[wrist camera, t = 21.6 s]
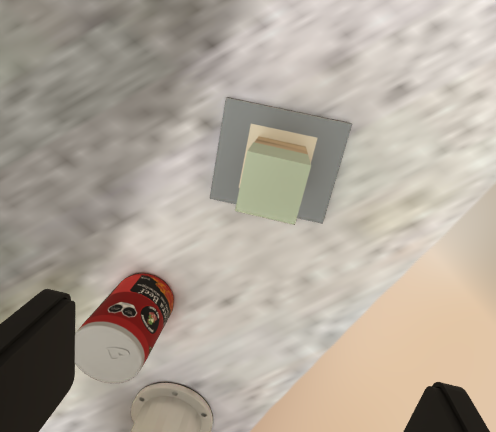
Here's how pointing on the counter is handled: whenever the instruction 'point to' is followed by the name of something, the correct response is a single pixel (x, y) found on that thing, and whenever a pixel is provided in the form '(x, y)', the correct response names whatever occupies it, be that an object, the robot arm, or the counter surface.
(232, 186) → the build board
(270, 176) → the sage block
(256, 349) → the counter surface
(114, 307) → the canned food
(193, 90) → the counter surface
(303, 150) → the oak block
